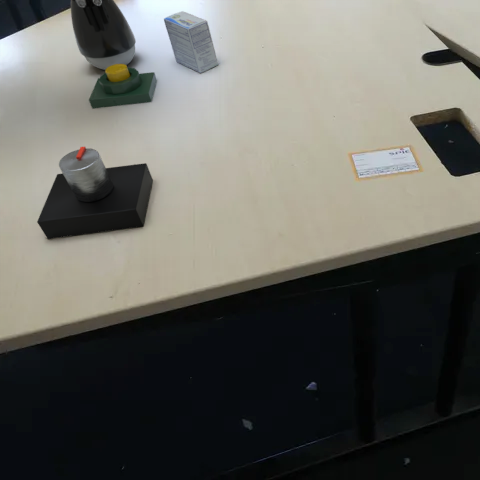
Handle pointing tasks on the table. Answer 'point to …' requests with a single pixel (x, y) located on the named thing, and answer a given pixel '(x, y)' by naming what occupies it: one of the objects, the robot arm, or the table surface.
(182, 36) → the medicine box
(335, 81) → the table surface
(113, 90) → the button housing
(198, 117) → the table surface
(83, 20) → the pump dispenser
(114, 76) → the yellow push button
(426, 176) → the table surface
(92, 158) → the knob
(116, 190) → the dial panel
